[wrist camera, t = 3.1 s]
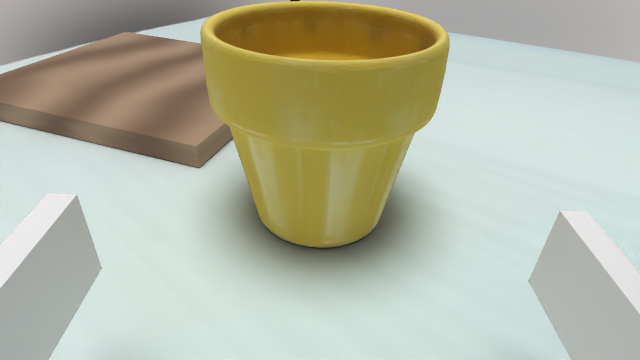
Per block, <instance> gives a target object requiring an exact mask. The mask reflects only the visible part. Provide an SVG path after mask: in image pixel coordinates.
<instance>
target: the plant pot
mask: <svg viewBox="0 0 640 360" xmlns="http://www.w3.org/2000/svg"><path fill="white" fill-rule="evenodd" d="M201 44H202V53H203V62H204V70H205V77H206V84H207V89H208V95H209V100H210V104H211V107H212V109H213V111H214V112H215V114H216V115H217V116H218V117H219V119H221V120H222V121H223V122H224V123H225V124H227V125H228V126H229V127H230V130H231V133H232V136H233V139H234V142H235V145H236V148H237V151H238V154H239V157H240V160H241V163H242V166H243V169H244V171H245V174H246V177H247V180H248V183H249V186H250V189H251V192H252V196H253V199H254V202H255V205H256V208H257V211H258V214H259V217H260V219H261V220H262V222H263V223H264V225H265V226H266V227H267V228H268V229H269V230H270V231H271V232H272V233H274V234H275V235H277V236H278V237H280V238H282V239H284V240H286V241H289V242H291V243H294V244H298V245H302V246H309V247H317V248H328V247H337V246H342V245H346V244H349V243H352V242H355V241H357V240H359V239H361V238H363V237H364V236H366V235H367V234H369V233H370V232H371V231H372V230H373V229H374V228H375V226H376V225H377V223H378V222H379V219H380V217H381V214H382V212H383V209H384V207H385V204H386V202H387V199H388V197H389V194H390V192H391V189H392V187H393V184H394V182H395V179H396V177H397V174H398V172H399V169H400V167H401V165H402V162H403V160H404V157H405V155H406V152H407V150H408V148H409V145H410V143H411V140H412V138H413V135H414V133H415V132H417V131H418V130H420V129H421V128H423V127H424V126H425V125H426V124H427V123H428V122H429V121H430V120H431V118H432V117H433V115H434V113H435V111H436V107H437V104H438V100H439V96H440V92H441V88H442V83H443V79H444V74H445V69H446V63H447V58H448V51H449V36H448V33H447V32H446V30H445V29H444V28H443V27H442V26H440V25H439V24H438V23H436V22H434V21H432V20H430V19H427V18H425V17H422V16H419V15H416V14H412V13H409V12H405V11H400V10H395V9H391V8H385V7H379V6H372V5H364V4H355V3H354V4H353V3H343V2H326V1H290V2H274V3H261V4H254V5H248V6H242V7H237V8H232V9H229V10H226V11H223V12H220V13H217V14H215V15H213V16H212V17H210V18H208V19H207V20H206V21H205V22H204V24H203V25H202V27H201Z"/></svg>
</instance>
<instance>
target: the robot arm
mask: <svg viewBox="0 0 640 360" xmlns="http://www.w3.org/2000/svg"><path fill="white" fill-rule="evenodd" d="M101 269H102V268H101V265H100V262H99V259H98V256H97V253H96V250H95V247H94V244H93V241H92V238H91V235H90V232H89V229H88V226H87V223H86V220H85V217H84V214H83V211H82V208H81V205H80V202H79V199H78V196H77V194H50V193H48V194H47V195H46V196H45V197H44V198H43V199H42V200H41V201H40V202H39V204H38V205H37V206H36V207H35V208H34V209H33V210H32V211H31V212H30V213H29V214H28V216H27V217H26V218H25V219H24V220H23V221H22V222H21V223H20V224H19V225H18V226H17V228H16V229H15V230H14V231H13V232H12V233H11V234H10V235H9V236H8V237H7V238H6V240H5V241H4V242H3V243H2V244H1V245H0V360H48V359H49V358H50V356H51V354H52V352H53V351H54V349H55V347H56V346H57V344H58V342H59V340H60V339H61V337H62V335H63V334H64V332H65V330H66V328H67V327H68V325H69V323H70V322H71V320H72V318H73V317H74V315H75V313H76V311H77V310H78V308H79V306H80V305H81V303H82V301H83V299H84V298H85V296H86V294H87V293H88V291H89V289H90V287H91V286H92V284H93V282H94V281H95V279H96V277H97V276H98V274H99V272H100V270H101ZM529 283H530V285H531V287H532V288H533V290H534V292H535V294H536V296H537V298H538V299H539V301H540V303H541V305H542V307H543V309H544V310H545V312H546V314H547V316H548V318H549V319H550V321H551V323H552V325H553V327H554V329H555V330H556V332H557V334H558V336H559V338H560V339H561V341H562V343H563V345H564V347H565V349H566V350H567V352H568V354H569V356H570V358H571V360H640V273H639V272H638V270H637V269H636V268H635V267H634V266H633V265H632V263H631V262H630V261H629V260H628V259H627V258H626V256H625V255H624V254H623V253H622V252H621V251H620V249H619V248H618V247H617V246H616V245H615V244H614V242H613V241H612V240H611V239H610V238H609V237H608V235H607V234H606V233H605V232H604V231H603V230H602V228H601V227H600V226H599V225H598V224H597V223H596V221H595V220H594V219H593V218H592V217H591V216H590V214H589V213H588V212H578V211H560V212H559V214H558V217H557V219H556V221H555V223H554V225H553V228H552V230H551V232H550V234H549V236H548V239H547V241H546V243H545V245H544V248H543V250H542V252H541V254H540V256H539V259H538V261H537V263H536V265H535V267H534V270H533V272H532V274H531V276H530V278H529Z"/></svg>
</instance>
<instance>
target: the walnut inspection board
mask: <svg viewBox="0 0 640 360" xmlns="http://www.w3.org/2000/svg"><path fill="white" fill-rule="evenodd" d="M0 121H4V122H9V123H13V124H17V125H21V126H25V127H30V128H34V129H38V130H42V131H46V132H51V133H55V134H59V135H63V136H67V137H72V138H76V139H80V140H84V141H88V142H93V143H97V144H101V145H105V146H109V147H114V148H118V149H122V150H126V151H131V152H135V153H139V154H143V155H147V156H152V157H156V158H160V159H164V160H168V161H173V162H177V163H181V164H185V165H189V166H194V167H198V168H200V167H201V166H202V165H203V164H204V163H205V162H206V161H208V160H209V159H210V158H211V157H212V156H213V155H214V154H215V153H217V152H218V151H219V150H220V149H221V148H222V147H223V146H224V145H226V144H227V143H228V142H229V141H230V140H231V139H232V138H233V136H232V133H231V130H230V127H229V126H228V125H227V124H225V123H224V122H223V121H222V120H221V119H219V117H218V116H217V115H216V114H215V112H214V111H213V109H212V107H211V104H210V100H209V95H208V89H207V84H206V77H205V70H204V62H203V53H202V44H200V43H194V42H187V41H181V40H174V39H168V38H161V37H155V36H148V35H142V34H135V33H129V32H124V33H121V34H118V35H115V36H112V37H109V38H106V39H103V40H100V41H97V42H94V43H91V44H88V45H85V46H82V47H79V48H77V49H74V50H71V51H68V52H65V53H62V54H59V55H56V56H53V57H50V58H47V59H44V60H41V61H38V62H35V63H32V64H29V65H26V66H23V67H20V68H17V69H15V70H12V71H9V72H6V73H3V74H0Z"/></svg>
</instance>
